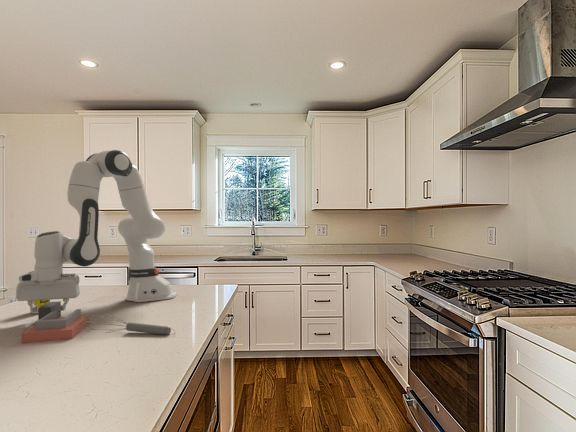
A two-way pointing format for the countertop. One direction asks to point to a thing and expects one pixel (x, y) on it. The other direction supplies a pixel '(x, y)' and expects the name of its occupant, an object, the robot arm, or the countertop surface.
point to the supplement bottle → (39, 304)
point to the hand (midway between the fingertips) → (48, 311)
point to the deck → (55, 327)
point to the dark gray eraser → (49, 309)
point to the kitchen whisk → (136, 327)
